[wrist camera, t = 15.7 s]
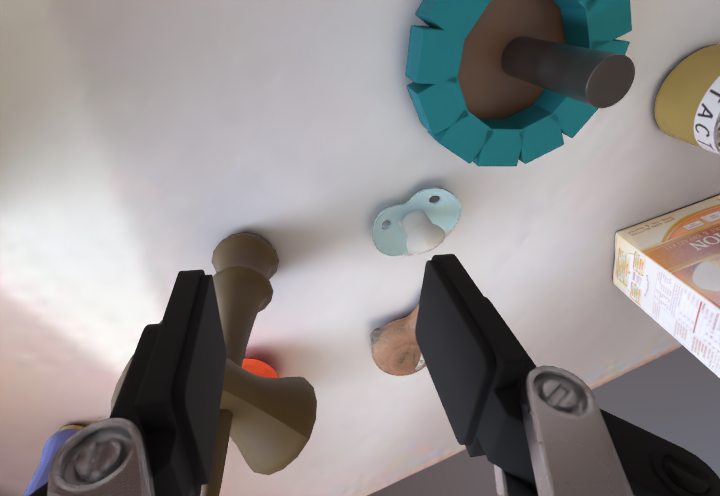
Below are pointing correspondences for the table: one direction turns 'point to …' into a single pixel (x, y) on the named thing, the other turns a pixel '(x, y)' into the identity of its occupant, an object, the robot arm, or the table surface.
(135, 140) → the table surface
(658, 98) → the patterned cylinder
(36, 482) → the rubber mallet
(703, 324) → the coffeecake box
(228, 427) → the kendama
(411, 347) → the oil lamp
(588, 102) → the peg stand
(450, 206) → the pacifier
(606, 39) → the ring
